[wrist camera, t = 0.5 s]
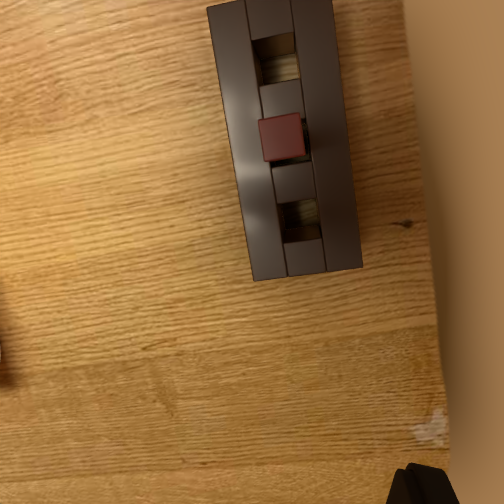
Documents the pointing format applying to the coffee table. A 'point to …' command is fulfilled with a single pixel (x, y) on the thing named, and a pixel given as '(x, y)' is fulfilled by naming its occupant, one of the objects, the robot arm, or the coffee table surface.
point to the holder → (312, 115)
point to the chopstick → (281, 137)
